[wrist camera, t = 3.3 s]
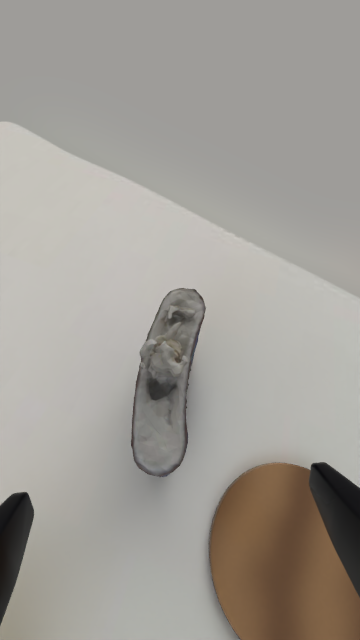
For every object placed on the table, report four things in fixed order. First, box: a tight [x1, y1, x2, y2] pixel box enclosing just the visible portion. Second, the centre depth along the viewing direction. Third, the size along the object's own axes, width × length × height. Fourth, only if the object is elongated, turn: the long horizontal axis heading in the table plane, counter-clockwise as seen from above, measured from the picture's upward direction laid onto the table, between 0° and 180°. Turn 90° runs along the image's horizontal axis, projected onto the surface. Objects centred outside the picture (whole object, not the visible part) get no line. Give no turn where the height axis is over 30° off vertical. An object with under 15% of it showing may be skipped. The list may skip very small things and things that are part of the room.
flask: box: [131, 288, 206, 477], centre depth 16 cm, size 9×3×11 cm, turn 171°
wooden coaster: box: [209, 463, 360, 640], centre depth 17 cm, size 10×10×1 cm
